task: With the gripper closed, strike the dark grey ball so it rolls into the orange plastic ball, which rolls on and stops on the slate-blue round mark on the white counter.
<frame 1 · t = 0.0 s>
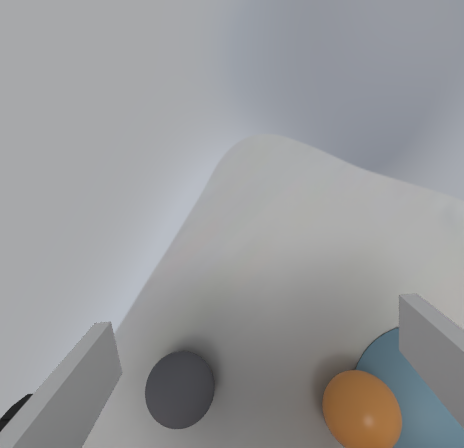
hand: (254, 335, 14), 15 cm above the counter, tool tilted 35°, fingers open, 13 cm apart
object ball: (360, 410, 23), on the counter
dark grey ball: (180, 388, 24), on the counter
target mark: (440, 415, 24), on the counter
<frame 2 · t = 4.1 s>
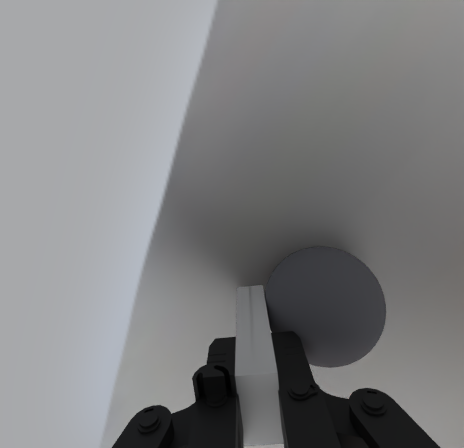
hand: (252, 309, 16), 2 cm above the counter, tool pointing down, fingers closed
dark grey ball: (321, 304, 14), on the counter, touching gripper
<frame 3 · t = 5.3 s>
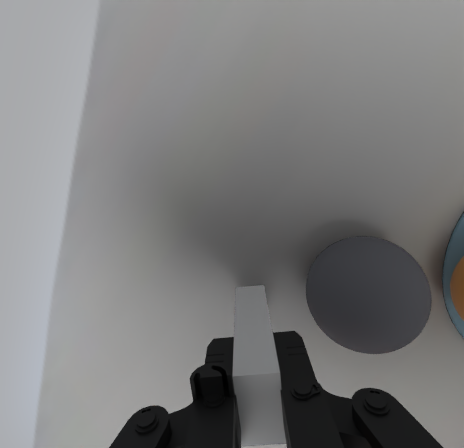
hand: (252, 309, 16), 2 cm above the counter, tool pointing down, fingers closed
dark grey ball: (363, 292, 15), on the counter
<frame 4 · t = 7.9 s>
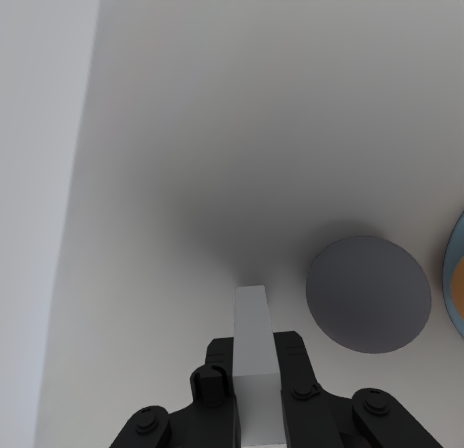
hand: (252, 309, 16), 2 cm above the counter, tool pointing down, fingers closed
dark grey ball: (363, 292, 15), on the counter
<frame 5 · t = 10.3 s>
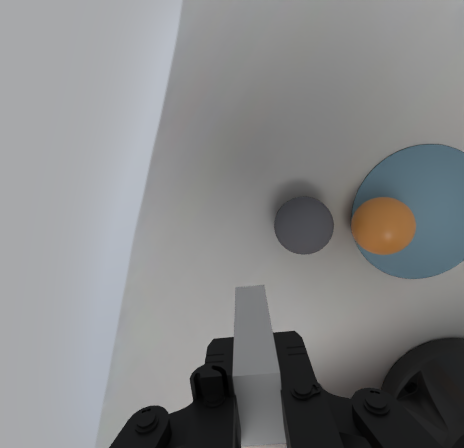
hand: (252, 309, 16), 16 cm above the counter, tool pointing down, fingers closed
object ball: (382, 225, 29), on the counter
dark grey ball: (303, 225, 29), on the counter
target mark: (420, 214, 31), on the counter
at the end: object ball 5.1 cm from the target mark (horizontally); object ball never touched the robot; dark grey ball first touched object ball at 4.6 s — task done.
